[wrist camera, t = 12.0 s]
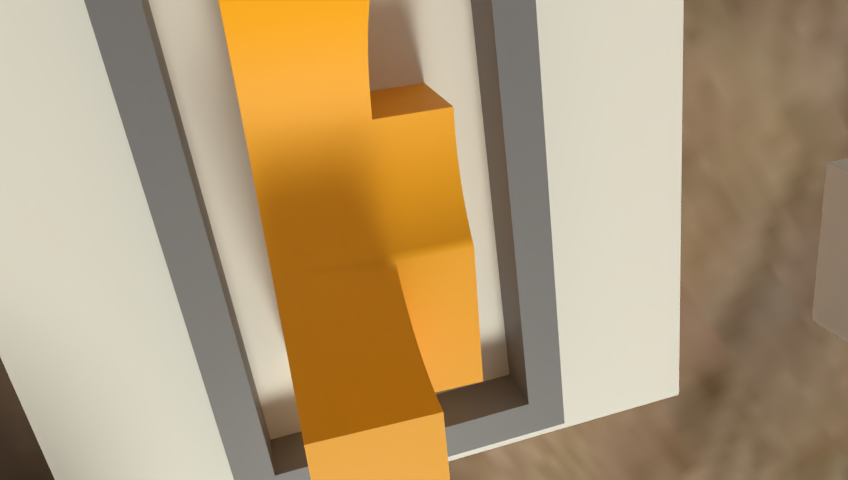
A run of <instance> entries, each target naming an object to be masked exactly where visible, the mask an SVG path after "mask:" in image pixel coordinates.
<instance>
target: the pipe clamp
mask: <svg viewBox="0 0 848 480" xmlns="http://www.w3.org/2000/svg"><path fill="white" fill-rule="evenodd" d="M218 1H219V6H220V11H221V16H222V21H223V26H224V31H225V36H226V41H227V46H228V51H229V56H230V62H231V67H232V72H233V77H234V82H235V87H236V92H237V97H238V102H239V107H240V113H241V118H242V123H243V128H244V133H245V138H246V143H247V149H248V154H249V159H250V164H251V169H252V174H253V179H254V185H255V190H256V195H257V200H258V205H259V211H260V216H261V221H262V226H263V231H264V237H265V242H266V247H267V252H268V257H269V263H270V268H271V273H272V278H273V283H274V289H275V294H276V299H277V304H278V310H279V315H280V320H281V325H282V331H283V336H284V341H285V346H286V352H287V357H288V362H289V368H290V373H291V378H292V383H293V389H294V394H295V399H296V405H297V410H298V415H299V421H300V426H301V431H302V437H303V442H304V447H305V453H306V458H307V463H308V468H309V473H310V478H311V480H450V474H449V464H448V454H447V443H446V433H445V423H444V412H443V410H442V407H441V405H440V403H439V401H438V398H437V396H436V394H435V393H436V392H440V391H444V390H449V389H453V388H457V387H461V386H466V385H470V384H474V383H479V382H483V371H482V356H481V341H480V327H479V312H478V297H477V283H476V268H475V253H474V244H473V240H472V236H471V231H470V227H469V222H468V218H467V213H466V207H465V202H464V197H463V190H462V184H461V178H460V171H459V163H458V155H457V146H456V135H455V122H454V107H453V106H452V105H451V104H450V103H448V102H447V101H446V100H445V99H444V98H442V97H441V96H440V95H439V94H437V93H436V92H435V91H434V90H432V89H431V88H430V87H429V86H427V85H426V84H425V83H421V84H415V85H408V86H401V87H395V88H388V89H381V90H375V91H370V86H369V66H368V16H369V2H370V0H218Z"/></svg>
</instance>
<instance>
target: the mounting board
mask: <svg viewBox="0 0 848 480" xmlns="http://www.w3.org/2000/svg"><path fill="white" fill-rule="evenodd" d="M368 66H369V86H370V91H375V90H381V89H388V88H395V87H401V86H408V85H415V84H421V83H425V84H426V85H427V86H429V87H430V88H431V89H432V90H434V91H435V92H436V93H437V94H439V95H440V96H441V97H442V98H444V99H445V100H446V101H447V102H448V103H450V104H451V105H452V106H453V107H454V122H455V135H456V146H457V155H458V163H459V171H460V178H461V184H462V190H463V197H464V202H465V207H466V213H467V218H468V222H469V227H470V231H471V236H472V240H473V244H474V253H475V268H476V283H477V297H478V312H479V327H480V341H481V356H482V371H483V382H479V383H474V384H470V385H466V386H461V387H457V388H453V389H449V390H444V391H440V392H436V393H435V394H436V396H437V398H438V401H439V403H440V405H441V407H442V410H443V412H444V423H445V433H446V443H447V454H448V461H451V460H455V459H458V458H462V457H465V456H469V455H472V454H475V453H479V452H482V451H486V450H489V449H493V448H496V447H500V446H503V445H506V444H510V443H513V442H517V441H520V440H524V439H527V438H531V437H534V436H538V435H541V434H544V433H548V432H551V431H555V430H558V429H562V428H565V427H569V426H572V425H575V424H579V423H582V422H586V421H589V420H593V419H596V418H600V417H603V416H606V415H610V414H613V413H617V412H620V411H624V410H627V409H631V408H634V407H637V406H641V405H644V404H648V403H651V402H655V401H658V400H662V399H665V398H668V397H672V396H675V395H679V329H680V245H681V162H682V78H683V0H370V2H369V16H368ZM0 357H1V360H2V362H3V364H4V366H5V369H6V371H7V373H8V375H9V378H10V380H11V382H12V384H13V387H14V389H15V391H16V393H17V396H18V398H19V400H20V402H21V405H22V407H23V409H24V412H25V414H26V416H27V418H28V421H29V423H30V425H31V427H32V430H33V432H34V434H35V436H36V439H37V441H38V443H39V445H40V448H41V450H42V452H43V454H44V457H45V459H46V461H47V463H48V466H49V468H50V470H51V472H52V475H53V477H54V479H55V480H311V478H310V473H309V468H308V463H307V458H306V453H305V447H304V442H303V437H302V431H301V426H300V421H299V415H298V410H297V405H296V399H295V394H294V389H293V383H292V378H291V373H290V368H289V362H288V357H287V352H286V346H285V341H284V336H283V331H282V325H281V320H280V315H279V310H278V304H277V299H276V294H275V289H274V283H273V278H272V273H271V268H270V263H269V257H268V252H267V247H266V242H265V237H264V231H263V226H262V221H261V216H260V211H259V205H258V200H257V195H256V190H255V185H254V179H253V174H252V169H251V164H250V159H249V154H248V149H247V143H246V138H245V133H244V128H243V123H242V118H241V113H240V107H239V102H238V97H237V92H236V87H235V82H234V77H233V72H232V67H231V62H230V56H229V51H228V46H227V41H226V36H225V31H224V26H223V21H222V16H221V11H220V6H219V1H218V0H0Z"/></svg>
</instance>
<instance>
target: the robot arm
mask: <svg viewBox="0 0 848 480" xmlns="http://www.w3.org/2000/svg"><path fill="white" fill-rule="evenodd" d="M812 320H813V321H815V322H816V323H818V324H819V325H821V326H822V327H824V328H825V329H827V330H829V331H830V332H832V333H833V334H835V335H836V336H838V337H839V338H841V339H842V340H844V341H845V342H847V343H848V158H846V159H842V160H838V161H834V162H830V163H827V168H826V179H825V189H824V200H823V210H822V220H821V231H820V241H819V251H818V262H817V272H816V282H815V293H814V303H813V313H812Z"/></svg>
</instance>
